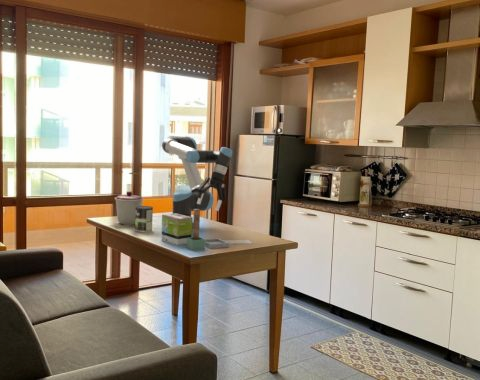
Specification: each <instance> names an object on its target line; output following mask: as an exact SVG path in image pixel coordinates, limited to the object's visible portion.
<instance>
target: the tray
mask: <svg viewBox="0 0 480 380" xmlns="http://www.w3.org/2000/svg"><path fill="white" fill-rule="evenodd" d="M204 239H205V248H207V249H220V248H229V243H230V242H228V241H226V240H223V239H221V238H219V237H215V238H204Z"/></svg>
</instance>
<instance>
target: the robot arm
mask: <svg viewBox="0 0 480 380" xmlns="http://www.w3.org/2000/svg"><path fill="white" fill-rule="evenodd" d="M197 146H198V145H197V142H196V139H194V138H193V137H191V136H175V135H171V136H166V138H165V139H163V141H162V144H161V147H162V150H163V151H164V152H165V153H166V154H169V155H175V156H177V157H178V159H180V160H181V162H182V165H183V168H184V169H183V170H184V172H185V176H186V179H187V181H188V185H189V190H188V189H187V190H179V191H175V192H174V193H173V195H172V214H174V213H177V214H181V215H185V216H189V217H192V212H194V209H200V212H204V211H209V210H211V208H212V207H213V205H214V194H213V193H212V192H210V191H208V189H210V188H213V189H215V190H216V192H217V194H218V195H217V196H218V200H217V202H216V206H215V209H214V210H215V211H216V212H219V211H220V209H221V206H222V204H223V202H226V201H227V190H226V188H227V184H224V183H223V182H224V180H225V177H226V176H225V175H226V173H227V172H228V171H227V170H228V167H229V165H230V162H231V159H232V155H233V150H232V149H231V148H230V147H229V148H228V147H225V146H222V147H220V150H214V149H213V150H202V149H201V150H200V149H197ZM198 164H214V167H213V171H212V173H211V177H210V176H209V177H208V176H207V177H205V179H204V181H202V177H201V174H200V171H199V168H198ZM192 230H193V224H192Z"/></svg>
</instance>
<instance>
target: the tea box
mask: <svg viewBox="0 0 480 380" xmlns="http://www.w3.org/2000/svg"><path fill="white" fill-rule="evenodd" d="M192 224H193V217H192V216H191V217H189V216H185V215H181V214H177V213H174V214H173V213H166V214H162V215H161V241H162V242H167V243H169V244H173V245H175V246H180V245H185V244H186V245H187V238H189V237H193V229H192Z"/></svg>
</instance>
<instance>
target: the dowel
mask: <svg viewBox="0 0 480 380" xmlns="http://www.w3.org/2000/svg"><path fill="white" fill-rule="evenodd" d="M192 215H193V229H192V237H193V240H199V237H200V221H201V220H200V219H201V217H200V216H201V211H200V209H194V211H193V214H192Z"/></svg>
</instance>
